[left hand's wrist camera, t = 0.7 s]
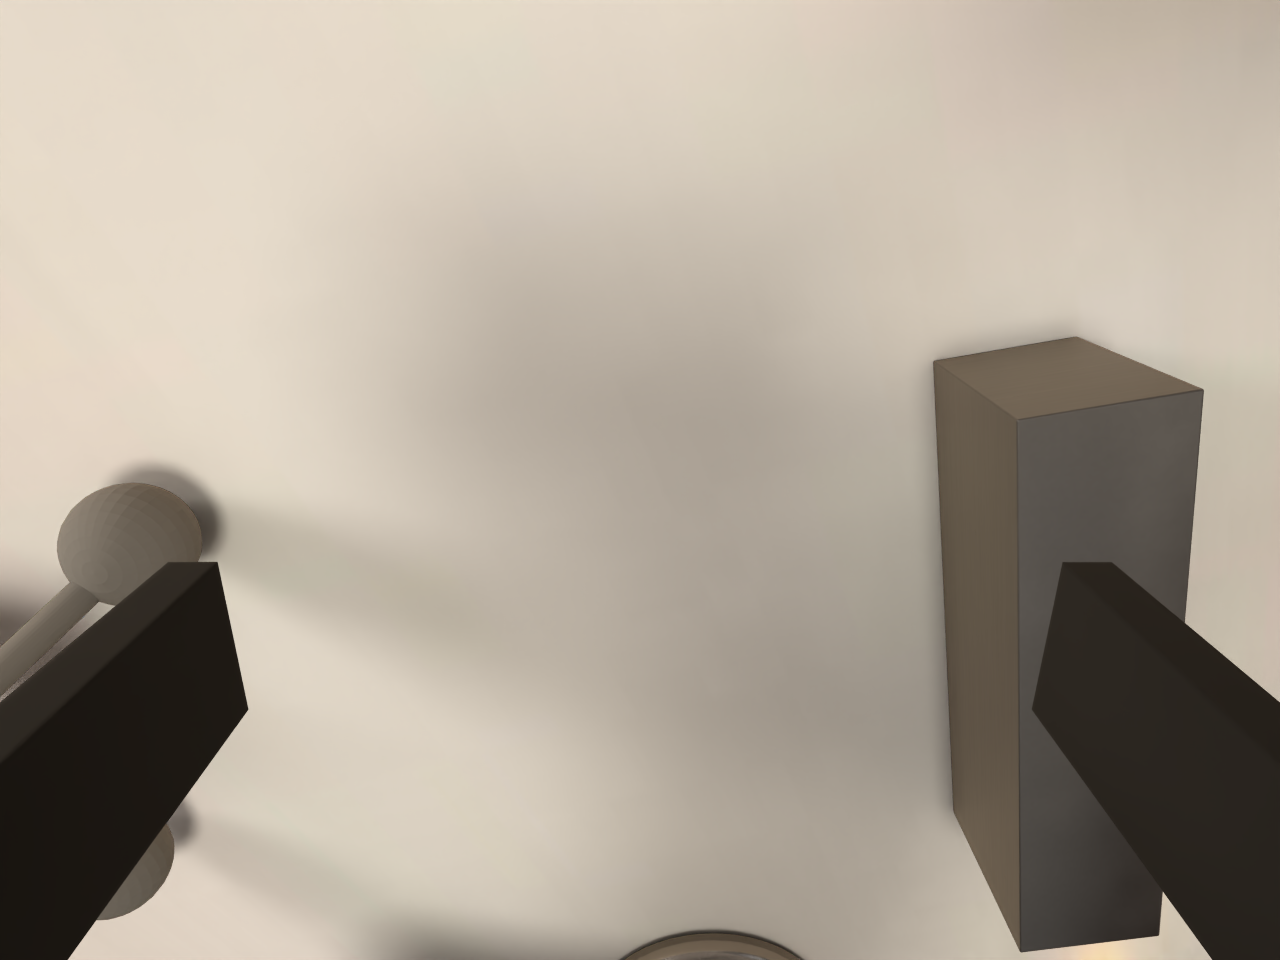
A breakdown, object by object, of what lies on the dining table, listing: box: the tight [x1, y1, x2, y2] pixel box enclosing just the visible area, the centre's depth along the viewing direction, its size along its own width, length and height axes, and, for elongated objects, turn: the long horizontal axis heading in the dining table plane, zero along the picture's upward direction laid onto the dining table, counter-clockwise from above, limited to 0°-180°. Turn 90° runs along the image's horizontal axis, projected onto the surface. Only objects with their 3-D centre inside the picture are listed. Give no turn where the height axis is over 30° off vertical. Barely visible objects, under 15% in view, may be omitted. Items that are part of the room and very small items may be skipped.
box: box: [934, 337, 1204, 952], centre depth 37 cm, size 26×6×9 cm, turn 10°
